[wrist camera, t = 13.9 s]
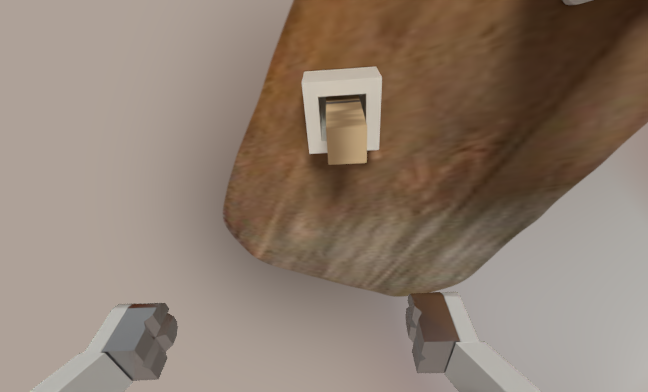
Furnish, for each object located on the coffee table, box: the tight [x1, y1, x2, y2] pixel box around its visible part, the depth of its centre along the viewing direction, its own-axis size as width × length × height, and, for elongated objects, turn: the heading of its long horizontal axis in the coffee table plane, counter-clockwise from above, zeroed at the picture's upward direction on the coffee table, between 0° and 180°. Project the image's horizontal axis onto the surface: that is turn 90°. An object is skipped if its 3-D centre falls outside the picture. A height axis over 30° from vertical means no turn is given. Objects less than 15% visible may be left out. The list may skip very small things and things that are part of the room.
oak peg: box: [326, 94, 367, 165], centre depth 35 cm, size 4×4×12 cm
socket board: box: [302, 67, 382, 154], centre depth 39 cm, size 9×9×5 cm
